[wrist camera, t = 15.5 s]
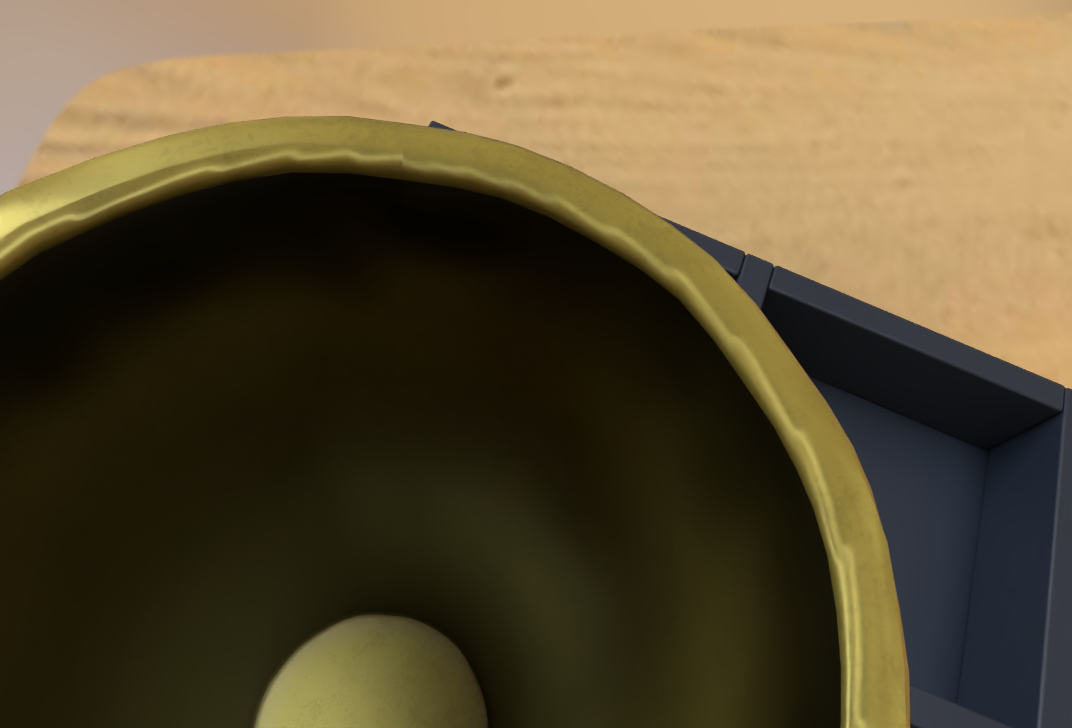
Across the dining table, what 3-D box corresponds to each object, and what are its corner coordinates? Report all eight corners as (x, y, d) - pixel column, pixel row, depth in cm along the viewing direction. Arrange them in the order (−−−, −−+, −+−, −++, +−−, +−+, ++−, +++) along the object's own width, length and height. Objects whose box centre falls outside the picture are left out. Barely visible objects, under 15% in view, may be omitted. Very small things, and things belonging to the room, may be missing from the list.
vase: (537, 587, 18) (914, 131, 5) (519, 932, 15) (1224, 1744, 2) (240, 561, 17) (-163, -45, 4) (166, 920, 14) (-1418, 1990, 2)
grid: (38, 883, 17) (-44, 911, 13) (425, 202, 25) (431, 119, 22) (904, 1264, 16) (1032, 1386, 13) (1003, 445, 25) (1095, 397, 22)
